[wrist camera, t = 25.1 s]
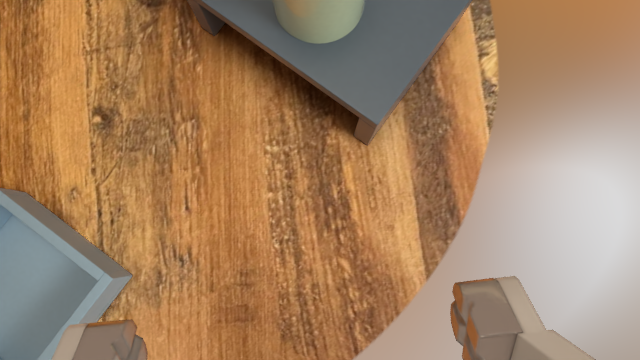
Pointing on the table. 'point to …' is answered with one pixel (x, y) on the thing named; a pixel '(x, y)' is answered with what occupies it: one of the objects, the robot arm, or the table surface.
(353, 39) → the shelf
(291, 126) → the table surface
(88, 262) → the open bin
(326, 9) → the cup
